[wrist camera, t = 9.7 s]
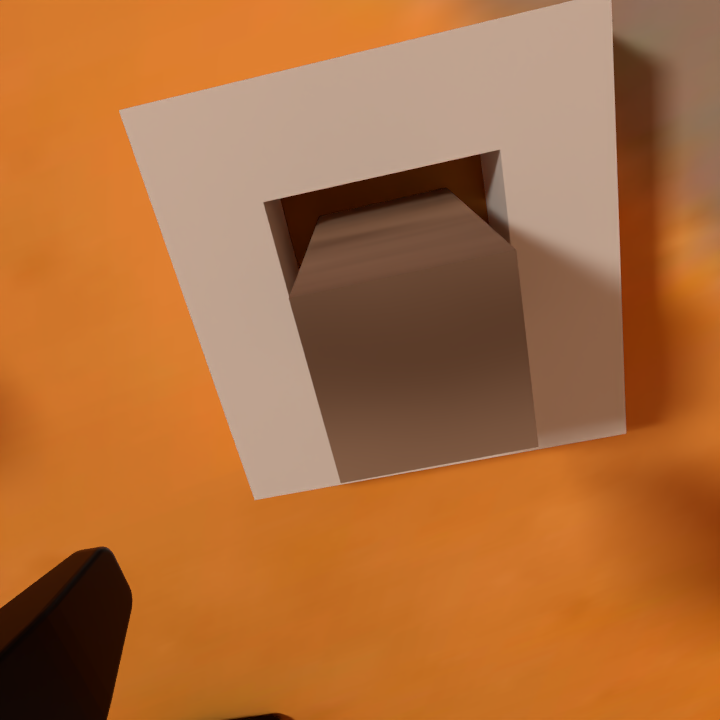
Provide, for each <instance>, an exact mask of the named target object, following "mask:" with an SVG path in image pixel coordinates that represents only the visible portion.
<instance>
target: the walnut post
mask: <svg viewBox="0 0 720 720" xmlns="http://www.w3.org/2000/svg"><path fill="white" fill-rule="evenodd" d="M289 301H290V305H291V308H292V312H293V315H294V319H295V322H296V326H297V330H298V333H299V337H300V340H301V344H302V347H303V351H304V354H305V358H306V362H307V365H308V369H309V372H310V376H311V379H312V383H313V386H314V390H315V394H316V397H317V401H318V404H319V408H320V411H321V415H322V418H323V422H324V426H325V429H326V433H327V436H328V440H329V443H330V447H331V451H332V454H333V458H334V461H335V465H336V468H337V472H338V475H339V479H340V483H345V482H351V481H356V480H362V479H367V478H372V477H378V476H383V475H389V474H394V473H400V472H405V471H410V470H416V469H421V468H427V467H432V466H437V465H443V464H448V463H454V462H459V461H465V460H470V459H475V458H481V457H486V456H492V455H497V454H502V453H508V452H513V451H519V450H524V449H530V448H535V447H539V446H538V437H537V428H536V420H535V411H534V402H533V393H532V384H531V375H530V366H529V358H528V349H527V340H526V331H525V322H524V313H523V305H522V296H521V287H520V278H519V269H518V260H517V251H516V249H515V248H514V247H513V246H512V245H510V244H509V243H508V242H507V241H506V240H505V239H504V238H503V237H501V236H500V235H499V234H498V233H497V232H496V231H495V230H494V229H492V228H491V227H490V226H489V225H488V224H487V223H486V222H485V221H483V220H482V219H481V218H480V217H479V216H478V215H477V214H476V213H474V212H473V211H472V210H471V209H470V208H469V207H468V206H467V205H465V204H464V203H463V202H462V201H461V200H460V199H459V198H458V197H456V196H455V195H454V194H453V193H452V192H451V191H450V190H449V189H447V188H442V189H437V190H433V191H429V192H424V193H420V194H415V195H411V196H406V197H402V198H398V199H393V200H389V201H384V202H380V203H375V204H371V205H367V206H362V207H358V208H353V209H349V210H344V211H340V212H336V213H331V214H327V215H322V216H319V219H318V222H317V224H316V227H315V230H314V232H313V235H312V238H311V240H310V243H309V246H308V248H307V251H306V254H305V256H304V259H303V262H302V264H301V267H300V270H299V272H298V275H297V278H296V280H295V283H294V286H293V288H292V291H291V294H290V296H289Z"/></svg>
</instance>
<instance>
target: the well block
mask: <svg viewBox="0 0 720 720" xmlns="http://www.w3.org/2000/svg"><path fill="white" fill-rule="evenodd" d="M119 112H120V115H121V118H122V121H123V124H124V126H125V129H126V132H127V135H128V138H129V141H130V144H131V146H132V149H133V152H134V155H135V158H136V161H137V164H138V167H139V169H140V172H141V175H142V178H143V181H144V184H145V187H146V189H147V192H148V195H149V198H150V201H151V204H152V207H153V209H154V212H155V215H156V218H157V221H158V224H159V227H160V230H161V232H162V235H163V238H164V241H165V244H166V247H167V250H168V252H169V255H170V258H171V261H172V264H173V267H174V270H175V273H176V275H177V278H178V281H179V284H180V287H181V290H182V293H183V295H184V298H185V301H186V304H187V307H188V310H189V313H190V315H191V318H192V321H193V324H194V327H195V330H196V333H197V336H198V338H199V341H200V344H201V347H202V350H203V353H204V356H205V358H206V361H207V364H208V367H209V370H210V373H211V376H212V379H213V381H214V384H215V387H216V390H217V393H218V396H219V399H220V401H221V404H222V407H223V410H224V413H225V416H226V419H227V421H228V424H229V427H230V430H231V433H232V436H233V439H234V442H235V444H236V447H237V450H238V453H239V456H240V459H241V462H242V464H243V467H244V470H245V473H246V476H247V479H248V482H249V485H250V487H251V490H252V493H253V496H254V499H255V500H257V499H263V498H269V497H274V496H280V495H285V494H291V493H297V492H302V491H308V490H313V489H319V488H325V487H330V486H336V485H341V484H347V483H353V482H358V481H364V480H369V479H375V478H381V477H386V476H392V475H397V474H403V473H409V472H414V471H420V470H425V469H431V468H437V467H442V466H448V465H453V464H459V463H465V462H470V461H476V460H481V459H487V458H493V457H498V456H504V455H509V454H515V453H521V452H526V451H532V450H537V449H543V448H549V447H554V446H560V445H565V444H571V443H576V442H582V441H588V440H593V439H599V438H604V437H610V436H616V435H621V434H626V410H625V381H624V352H623V323H622V294H621V265H620V236H619V207H618V178H617V149H616V120H615V91H614V62H613V34H612V5H611V0H573V1H569V2H565V3H561V4H557V5H553V6H548V7H544V8H540V9H536V10H532V11H528V12H524V13H519V14H515V15H511V16H507V17H503V18H499V19H495V20H490V21H486V22H482V23H478V24H474V25H470V26H466V27H462V28H457V29H453V30H449V31H445V32H441V33H437V34H433V35H428V36H424V37H420V38H416V39H412V40H408V41H404V42H399V43H395V44H391V45H387V46H383V47H379V48H375V49H371V50H366V51H362V52H358V53H354V54H350V55H346V56H342V57H337V58H333V59H329V60H325V61H321V62H317V63H313V64H308V65H304V66H300V67H296V68H292V69H288V70H284V71H280V72H275V73H271V74H267V75H263V76H259V77H255V78H251V79H246V80H242V81H238V82H234V83H230V84H226V85H222V86H217V87H213V88H209V89H205V90H201V91H197V92H193V93H189V94H184V95H180V96H176V97H172V98H168V99H164V100H160V101H155V102H151V103H147V104H143V105H139V106H135V107H131V108H126V109H122V110H119ZM477 154H480V157H481V165H482V173H483V181H484V190H485V198H486V206H487V214H488V222H489V226H490V227H491V228H492V229H494V230H495V231H496V232H497V233H498V234H499V235H500V236H501V237H503V238H504V239H505V240H506V241H507V242H508V243H509V244H510V245H512V246H513V247H514V248H515V249H516V251H517V260H518V269H519V278H520V287H521V296H522V305H523V313H524V322H525V331H526V340H527V349H528V358H529V366H530V375H531V384H532V393H533V402H534V411H535V420H536V428H537V437H538V446H539V447H535V448H530V449H524V450H519V451H513V452H508V453H502V454H497V455H492V456H486V457H481V458H475V459H470V460H465V461H459V462H454V463H448V464H443V465H437V466H432V467H427V468H421V469H416V470H410V471H405V472H400V473H394V474H389V475H383V476H378V477H372V478H367V479H362V480H356V481H351V482H345V483H340V479H339V475H338V472H337V468H336V465H335V461H334V458H333V454H332V451H331V447H330V443H329V440H328V436H327V433H326V429H325V426H324V422H323V418H322V415H321V411H320V408H319V404H318V401H317V397H316V394H315V390H314V386H313V383H312V379H311V376H310V372H309V369H308V365H307V362H306V358H305V354H304V351H303V347H302V344H301V340H300V337H299V333H298V330H297V326H296V322H295V319H294V315H293V312H292V308H291V305H290V301H289V296H290V294H291V291H292V288H293V286H294V283H295V280H296V278H297V275H298V272H299V269H298V265H297V261H296V257H295V253H294V250H293V246H292V242H291V238H290V234H289V231H288V227H287V223H286V219H285V215H284V211H283V208H282V204H281V200H280V198H284V197H289V196H293V195H298V194H302V193H307V192H311V191H316V190H320V189H325V188H329V187H334V186H338V185H343V184H347V183H352V182H356V181H361V180H365V179H370V178H374V177H379V176H383V175H388V174H392V173H397V172H401V171H406V170H410V169H415V168H419V167H424V166H428V165H433V164H437V163H442V162H446V161H450V160H455V159H459V158H464V157H468V156H473V155H477Z"/></svg>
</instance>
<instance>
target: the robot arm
mask: <svg viewBox="0 0 720 720" xmlns="http://www.w3.org/2000/svg"><path fill="white" fill-rule="evenodd" d="M131 609H132V593H131V590H130V587H129V585H128V583H127V581H126V579H125V577H124V575H123V573H122V571H121V568H120V566H119V564H118V562H117V560H116V558H115V556H114V554H113V553H112V551H111V550H110V549H109V548H107V547H96V548H90V549H84V550H80V551H77V552H75V553H73V554H72V555H70V556H69V557H68V558H66V559H65V560H64V561H63V562H61V563H60V564H59V565H57V566H56V567H55V568H53V569H52V570H51V571H49V572H48V573H47V574H45V575H44V576H43V577H41V578H40V579H39V580H37V581H36V582H35V583H33V584H32V585H31V586H29V587H28V588H27V589H26V590H24V591H23V592H22V593H20V594H19V595H18V596H16V597H15V598H14V599H12V600H11V601H10V602H8V603H7V604H6V605H4V606H3V607H2V608H0V720H107V716H108V712H109V708H110V704H111V701H112V696H113V692H114V687H115V682H116V678H117V673H118V669H119V664H120V660H121V655H122V650H123V646H124V641H125V637H126V632H127V628H128V623H129V619H130V614H131ZM244 720H280V719H279V718H278V717H275V716H265V717H258V718H251V719H244Z"/></svg>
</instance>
